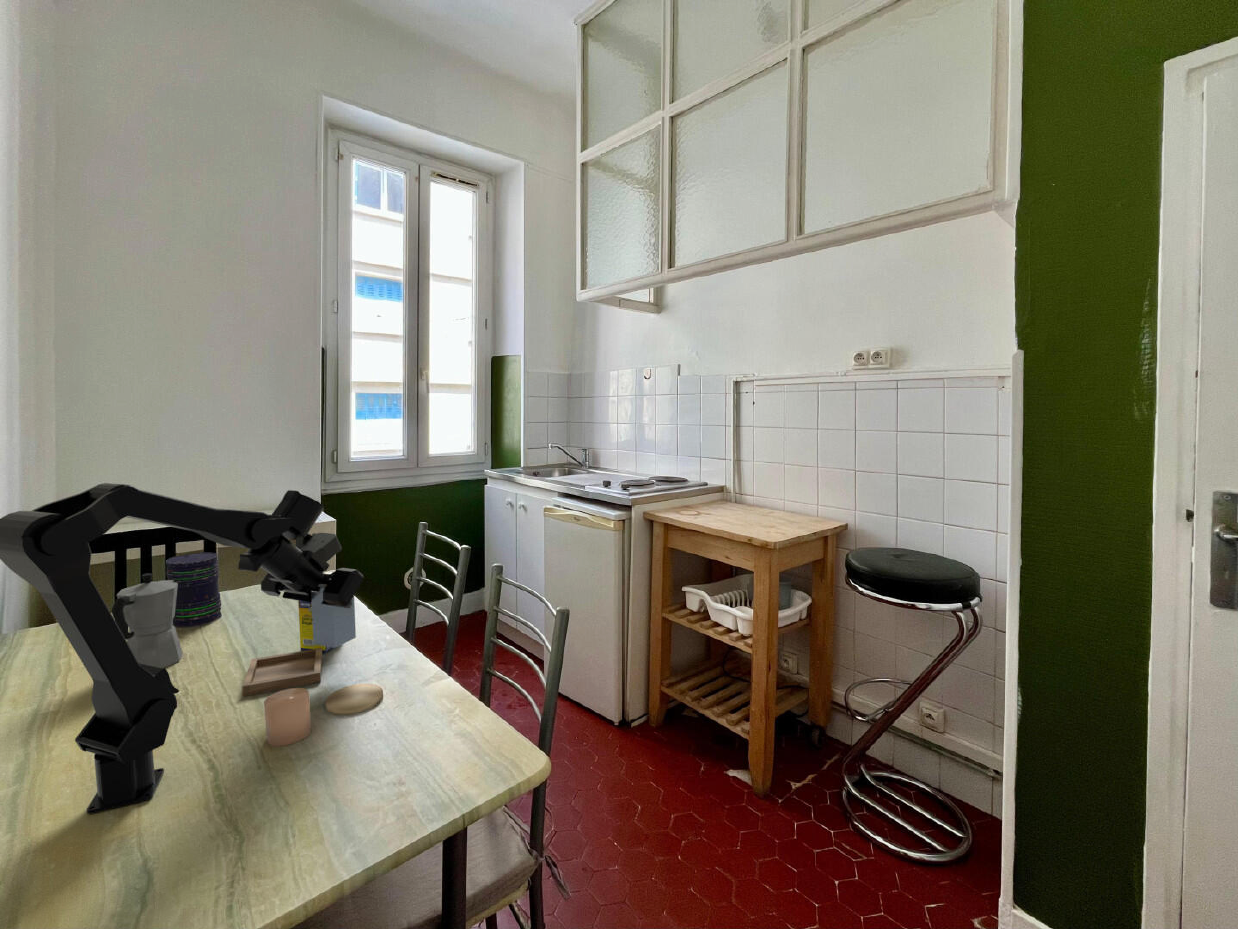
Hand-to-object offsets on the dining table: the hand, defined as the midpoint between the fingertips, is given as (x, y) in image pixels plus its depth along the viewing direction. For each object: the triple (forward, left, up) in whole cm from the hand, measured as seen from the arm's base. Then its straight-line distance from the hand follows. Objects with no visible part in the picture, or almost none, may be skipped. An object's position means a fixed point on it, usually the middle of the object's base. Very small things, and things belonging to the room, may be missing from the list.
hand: (339, 604), depth 108 cm
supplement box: (+15, +4, -14) cm, 20 cm away
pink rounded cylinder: (-19, +7, -13) cm, 25 cm away
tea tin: (-1, +1, -7) cm, 7 cm away
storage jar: (+45, +31, -14) cm, 56 cm away
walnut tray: (+4, +10, -13) cm, 17 cm away
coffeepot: (+20, +34, -14) cm, 41 cm away
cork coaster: (-12, -2, -13) cm, 18 cm away
